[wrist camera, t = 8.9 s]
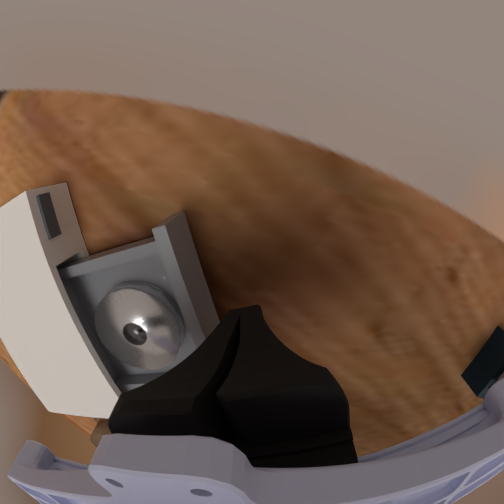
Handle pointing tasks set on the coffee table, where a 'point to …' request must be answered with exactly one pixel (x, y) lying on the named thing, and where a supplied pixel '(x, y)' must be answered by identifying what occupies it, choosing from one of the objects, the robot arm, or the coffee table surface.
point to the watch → (487, 365)
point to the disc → (140, 325)
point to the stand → (100, 430)
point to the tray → (152, 271)
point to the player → (48, 305)
